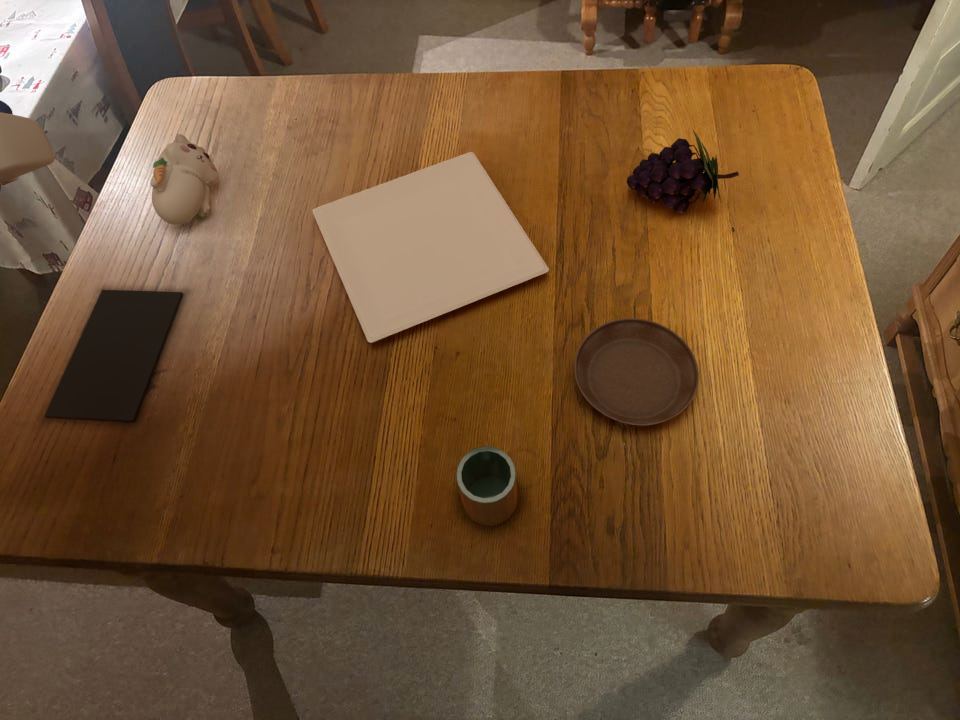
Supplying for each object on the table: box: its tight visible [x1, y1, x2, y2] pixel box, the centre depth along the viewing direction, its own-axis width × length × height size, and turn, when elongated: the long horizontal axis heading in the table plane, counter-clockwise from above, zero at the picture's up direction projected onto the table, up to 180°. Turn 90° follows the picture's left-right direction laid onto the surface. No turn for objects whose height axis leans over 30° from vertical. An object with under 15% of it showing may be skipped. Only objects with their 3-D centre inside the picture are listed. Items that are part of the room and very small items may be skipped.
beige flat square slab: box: [311, 151, 550, 344], centre depth 94 cm, size 26×26×2 cm
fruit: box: [626, 129, 740, 214], centre depth 92 cm, size 10×11×15 cm
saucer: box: [573, 317, 700, 426], centre depth 81 cm, size 15×15×3 cm
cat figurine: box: [149, 133, 220, 226], centre depth 99 cm, size 10×8×15 cm
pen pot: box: [455, 445, 518, 527], centre depth 72 cm, size 6×6×8 cm
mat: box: [44, 289, 184, 423], centre depth 89 cm, size 20×12×1 cm, turn 175°
